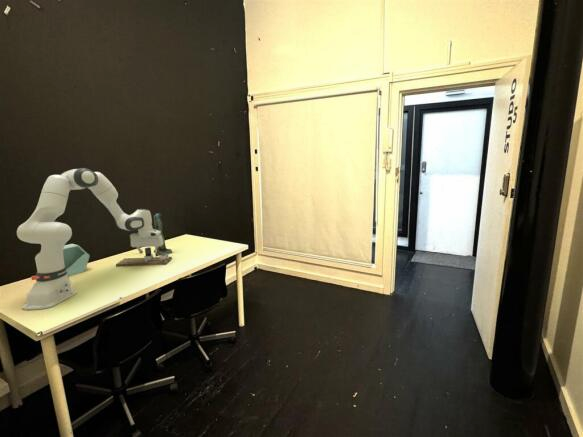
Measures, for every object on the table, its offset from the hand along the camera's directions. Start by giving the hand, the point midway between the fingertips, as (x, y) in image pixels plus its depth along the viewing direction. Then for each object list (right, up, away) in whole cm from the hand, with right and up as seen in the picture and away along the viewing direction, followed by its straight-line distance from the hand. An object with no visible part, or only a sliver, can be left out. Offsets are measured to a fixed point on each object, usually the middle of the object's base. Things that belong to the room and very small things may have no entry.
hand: (148, 252), depth 203 cm
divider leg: (0, -5, 0) cm, 5 cm away
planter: (-40, -11, -16) cm, 44 cm away
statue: (+2, -3, +20) cm, 20 cm away
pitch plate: (-3, -7, +1) cm, 7 cm away
